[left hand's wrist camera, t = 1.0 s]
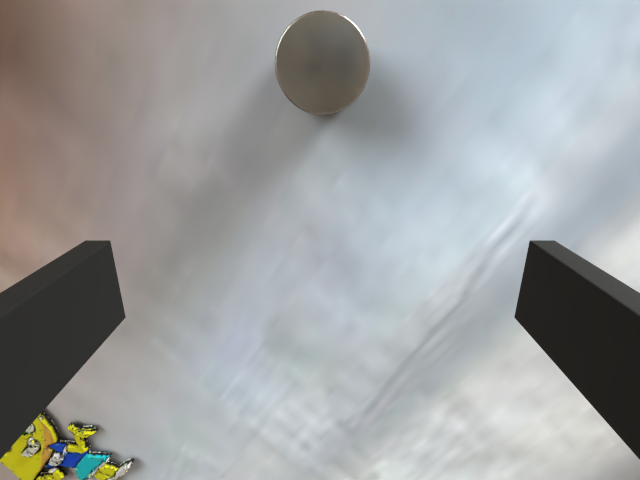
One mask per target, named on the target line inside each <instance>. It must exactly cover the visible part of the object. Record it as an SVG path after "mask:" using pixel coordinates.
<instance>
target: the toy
mask: <svg viewBox="0 0 640 480" xmlns="http://www.w3.org/2000/svg"><path fill="white" fill-rule="evenodd" d="M38 418H39V419H38ZM40 428H41V429H40ZM42 429H43V431H41V430H42ZM68 430H69V431H70V432H72V433H73V435H74V439H75V441H70V440H65V441H63V440H61V435H60V433H59V430H58V428H57V427H56V425H55V423H54V422H53V421H52V420H51V419H50V418H49V416H48V415H47V414H46V413H45V412H44V411H42V413H41V414H40V415H39V416H38V417H37V418H36V419H35V421H34V422H33V423H32V424H31V425H30V426H29V427H28V428H27V430H26V431H25V432H26V433H25V432H24V433H23V434H22V435H21V436H20V438H19V439H18V440H17V441H16V442H15V443H14V444H13V445H14V446H13V445H12V447H11V448H12V449H11V448H10V449H9V450H8V451H7V452H6V453H5V456H3V457H2V458H1V459H0V462H2V463H3V464H4V465H5V466H6V467H8V468H9V469H10V470H11V471H12V472H13V473H14V474H15V475H16V476H17V477H18V478H19V479H20V480H36V478H37V480H61V479H62V478H63V477H65V476H66V475H67V474H68V473H67V472H66V471H65V470H64V469H63V468H62V467H61V466H65V467H69V468H75V467H76V474H77V477H78V478H79V479H80V480H88V479H89V478H90V477H91V476H93V475H94V476H95V477H96V478H97V479H99V480H116V479H117V478H118V477H119V476H121V477H122V476H123V475H124V474H125V473H126V472H127V471H128V469H129V468H130V467H131V465H132V464H133V463H134V458H131V459H127V460H125V461H124V462H122V463H121V464H120V465H119V464H117V463H115V462H111V461H108V460H110V457H111V456H112V453H110V452H108V453H106V452H101V451H100V452H90V451H91V449H90V447H91V445H90V444H89V443H88V442H87V441H88V439H87V437H89V436H90V435H92V434H94V433H95V432H97V431H98V429H96V427H95V426H93V425H91V426H81V425H79V424H78V423H76V422H70V423H69V426H68ZM44 433H45V434H44ZM42 434H43V435H42ZM77 435H79V436H77ZM51 438H52V439H51ZM45 439H46V440H45ZM26 440H27V441H26ZM44 440H45V441H44ZM80 440H81V441H80ZM43 441H44V442H43ZM24 442H25V443H24ZM51 443H52V444H51ZM56 445H57V446H56ZM63 447H64V448H63ZM44 448H45V449H44ZM72 448H73V449H72ZM43 449H44V450H43ZM10 450H11V451H10ZM47 450H48V451H47ZM83 450H84V451H83ZM61 451H62V452H61ZM43 453H44V454H43ZM69 453H70V454H69ZM71 453H72V454H71ZM77 453H78V454H79V455H78V454H77ZM66 455H67V456H66ZM25 456H26V457H25ZM31 457H32V458H31ZM93 458H94V459H93ZM37 459H38V460H37ZM46 459H47V460H46ZM75 463H77V464H75ZM80 463H81V464H80ZM98 464H99V465H98ZM60 465H61V466H60ZM45 467H46V468H49V472H46V473H45V472H42V471H43V470H44V468H45ZM105 468H106V469H105ZM107 468H109V469H107ZM37 472H38V473H37ZM36 473H37V474H36ZM35 474H36V475H35ZM33 476H34V477H33ZM59 476H60V477H59Z"/></svg>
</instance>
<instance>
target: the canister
mask: <svg viewBox="0 0 640 480" xmlns="http://www.w3.org/2000/svg"><path fill="white" fill-rule="evenodd" d="M369 69H370V56H369V50H368V46H367V43H366V41H365V38H364V36H363V35H362V33H361V31H360V30H359V29H358V27H357V26H356V25H355V24H354V23H353V22H352V21H350V20H349V19H348V18H346V17H345V16H343V15H341V14H338V13H335V12H332V11H324V10H323V11H314V12H310V13H307V14H304V15H302V16H300V17H299V18H297V19H296V20H295V21H293V22H292V23H291V24H290V25H289V26H288V27H287V29H286V30H285V31H284V33H283V35H282V36H281V38H280V40H279V43H278V46H277V49H276V55H275V71H276V76H277V80H278V83H279V85H280V87H281V89H282V91H283V92H284V94H285V95H286V97H287V98H288V99H289V100H290V101H291V102H292V103H293V104H294V105H295V106H297V107H298V108H300V109H302V110H304V111H306V112H309V113H313V114H319V115H326V114H332V113H336V112H339V111H341V110H343V109H345V108H346V107H348V106H349V105H350V104H352V103H353V102H354V101H355V100H356V99H357V98H358V96H359V95H360V94H361V92H362V90H363V89H364V87H365V84H366V82H367V79H368V75H369Z"/></svg>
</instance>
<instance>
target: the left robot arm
mask: <svg viewBox="0 0 640 480" xmlns="http://www.w3.org/2000/svg"><path fill="white" fill-rule="evenodd" d="M124 318H125V313H124V308H123V303H122V298H121V293H120V288H119V283H118V278H117V273H116V268H115V263H114V258H113V253H112V248H111V243H110V241H84V242H83V243H81V244H79V245H78V246H76V247H75V248H73V249H71V250H70V251H68V252H66V253H65V254H63V255H62V256H60V257H58V258H57V259H55V260H53V261H52V262H50V263H49V264H47V265H45V266H44V267H42V268H40V269H39V270H37V271H36V272H34V273H32V274H31V275H29V276H27V277H26V278H24V279H23V280H21V281H19V282H18V283H16V284H14V285H13V286H11V287H10V288H8V289H6V290H5V291H3V292H1V293H0V459H1V458H2V457H3V456H4V455H5V453H6V452H7V451H8V450H9V449H10V448H11V447H12V445H13V444H14V443H15V442H16V441H17V440H18V439H19V438H20V436H21V435H22V434H23V433H24V432H25V431H26V430H27V428H28V427H29V426H30V425H31V424H32V423H33V422H34V421H35V419H36V418H37V417H38V416H39V415H40V414H41V413H42V411H43V410H44V409H45V408H46V407H47V406H48V405H49V404H50V402H51V401H52V400H53V399H54V398H55V397H56V396H57V394H58V393H59V392H60V391H61V390H62V389H63V388H64V386H65V385H66V384H67V383H68V382H69V381H70V380H71V379H72V377H73V376H74V375H75V374H76V373H77V372H78V371H79V369H80V368H81V367H82V366H83V365H84V364H85V363H86V362H87V360H88V359H89V358H90V357H91V356H92V355H93V354H94V352H95V351H96V350H97V349H98V348H99V347H100V346H101V344H102V343H103V342H104V341H105V340H106V339H107V338H108V337H109V335H110V334H111V333H112V332H113V331H114V330H115V329H116V327H117V326H118V325H119V324H120V323H121V322H122V321H123V320H124ZM515 318H516V320H517V321H518V322H519V323H520V324H521V325H522V326H523V327H524V329H525V330H526V331H527V332H528V333H529V334H530V335H531V337H532V338H533V339H534V340H535V341H536V342H537V343H538V345H539V346H540V347H541V348H542V349H543V350H544V351H545V352H546V354H547V355H548V356H549V357H550V358H551V359H552V360H553V362H554V363H555V364H556V365H557V366H558V367H559V368H560V369H561V371H562V372H563V373H564V374H565V375H566V376H567V377H568V379H569V380H570V381H571V382H572V383H573V384H574V385H575V386H576V388H577V389H578V390H579V391H580V392H581V393H582V394H583V396H584V397H585V398H586V399H587V400H588V401H589V402H590V404H591V405H592V406H593V407H594V408H595V409H596V410H597V411H598V413H599V414H600V415H601V416H602V417H603V418H604V419H605V421H606V422H607V423H608V424H609V425H610V426H611V427H612V428H613V430H614V431H615V432H616V433H617V434H618V435H619V436H620V438H621V439H622V440H623V441H624V442H625V443H626V444H627V445H628V447H629V448H630V449H631V450H632V451H633V452H634V453H635V455H636V456H637V457H638V458H639V459H640V293H639V292H637V291H635V290H634V289H632V288H630V287H629V286H627V285H626V284H624V283H622V282H621V281H619V280H617V279H616V278H614V277H613V276H611V275H609V274H608V273H606V272H604V271H603V270H601V269H600V268H598V267H596V266H595V265H593V264H591V263H590V262H588V261H587V260H585V259H583V258H582V257H580V256H578V255H577V254H575V253H574V252H572V251H570V250H569V249H567V248H565V247H564V246H562V245H561V244H559V243H557V242H556V241H530V243H529V248H528V253H527V258H526V263H525V268H524V273H523V278H522V283H521V288H520V293H519V298H518V303H517V308H516V312H515Z"/></svg>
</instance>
